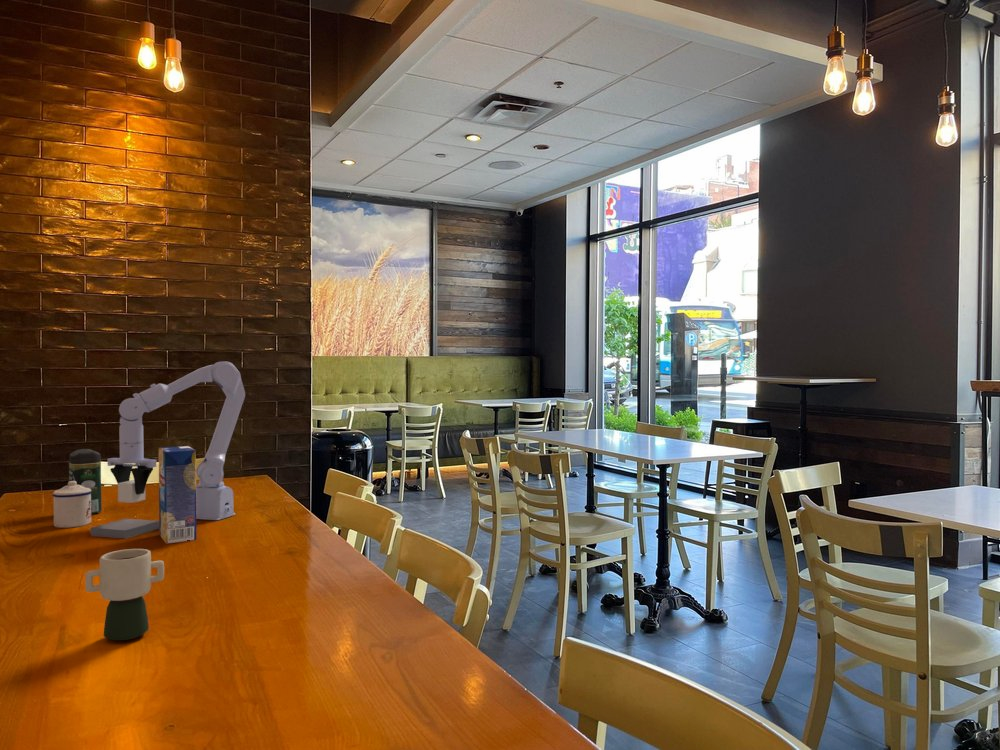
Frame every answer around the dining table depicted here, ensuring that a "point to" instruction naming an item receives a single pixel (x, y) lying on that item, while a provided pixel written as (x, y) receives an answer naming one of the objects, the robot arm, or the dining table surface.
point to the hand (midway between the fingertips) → (132, 493)
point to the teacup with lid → (72, 506)
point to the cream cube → (129, 492)
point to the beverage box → (177, 494)
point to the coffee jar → (87, 474)
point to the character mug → (125, 590)
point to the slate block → (124, 528)
